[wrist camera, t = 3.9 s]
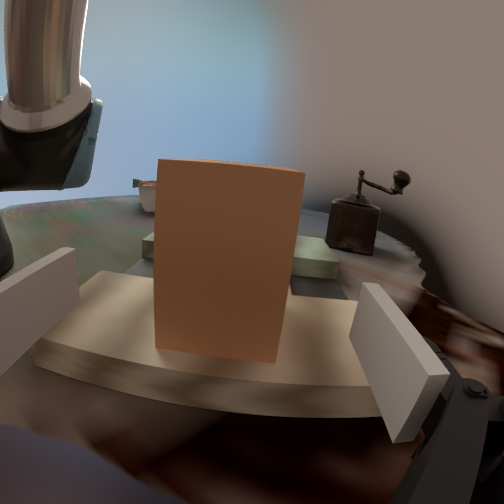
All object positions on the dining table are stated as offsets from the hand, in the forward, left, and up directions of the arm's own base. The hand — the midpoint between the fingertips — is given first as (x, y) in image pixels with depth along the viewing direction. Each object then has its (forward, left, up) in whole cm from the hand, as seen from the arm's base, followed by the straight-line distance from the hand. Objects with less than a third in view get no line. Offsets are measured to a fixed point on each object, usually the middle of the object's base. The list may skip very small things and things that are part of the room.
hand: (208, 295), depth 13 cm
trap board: (+12, +19, -10) cm, 25 cm away
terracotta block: (+5, +8, -7) cm, 12 cm away
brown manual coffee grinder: (+48, +30, -10) cm, 58 cm away
